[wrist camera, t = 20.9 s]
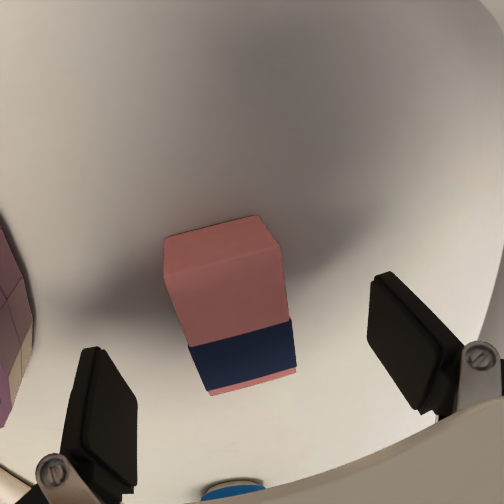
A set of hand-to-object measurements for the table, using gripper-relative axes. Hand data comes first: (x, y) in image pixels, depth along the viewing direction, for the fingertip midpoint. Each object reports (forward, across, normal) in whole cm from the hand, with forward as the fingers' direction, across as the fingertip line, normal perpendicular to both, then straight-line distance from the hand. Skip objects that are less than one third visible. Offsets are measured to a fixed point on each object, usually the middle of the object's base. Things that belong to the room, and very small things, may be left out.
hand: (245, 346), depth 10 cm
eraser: (+5, 0, +1) cm, 5 cm away
